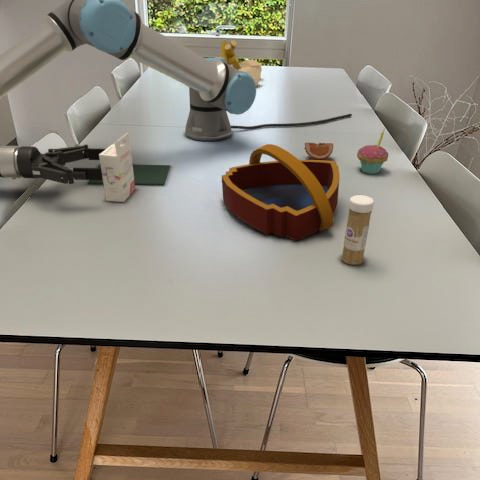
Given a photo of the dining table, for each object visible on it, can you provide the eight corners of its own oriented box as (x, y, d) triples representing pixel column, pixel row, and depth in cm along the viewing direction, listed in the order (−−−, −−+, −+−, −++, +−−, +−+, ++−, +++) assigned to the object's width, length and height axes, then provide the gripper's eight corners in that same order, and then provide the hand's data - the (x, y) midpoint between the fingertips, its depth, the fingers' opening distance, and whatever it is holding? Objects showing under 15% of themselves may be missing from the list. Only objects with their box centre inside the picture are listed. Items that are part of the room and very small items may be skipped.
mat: (170, 166, 153) (169, 165, 153) (163, 185, 142) (163, 183, 141) (100, 165, 153) (99, 163, 153) (88, 184, 142) (87, 182, 141)
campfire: (262, 92, 226) (264, 47, 216) (182, 90, 226) (180, 45, 216) (260, 74, 255) (262, 33, 245) (189, 72, 255) (188, 32, 245)
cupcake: (386, 167, 155) (394, 125, 148) (383, 178, 148) (391, 134, 141) (357, 164, 157) (363, 122, 150) (352, 173, 151) (358, 130, 144)
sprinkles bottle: (337, 260, 110) (345, 199, 103) (348, 252, 113) (357, 192, 105) (356, 268, 108) (366, 205, 100) (367, 259, 111) (378, 198, 103)
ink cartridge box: (117, 188, 140) (110, 130, 131) (135, 189, 139) (129, 132, 130) (104, 201, 133) (96, 141, 124) (123, 203, 132) (116, 143, 124)
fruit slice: (303, 162, 158) (304, 145, 155) (303, 154, 163) (305, 138, 160) (331, 163, 157) (333, 146, 154) (331, 156, 162) (333, 139, 160)
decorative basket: (207, 198, 140) (197, 143, 131) (305, 168, 147) (302, 113, 138) (262, 260, 116) (256, 197, 106) (377, 220, 123) (380, 157, 113)
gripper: (40, 159, 144) (119, 161, 144) (6, 197, 124) (98, 199, 123) (34, 131, 139) (116, 133, 139) (-2, 165, 119) (93, 167, 119)
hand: (108, 164), depth 131 cm, fingers open, 13 cm apart
